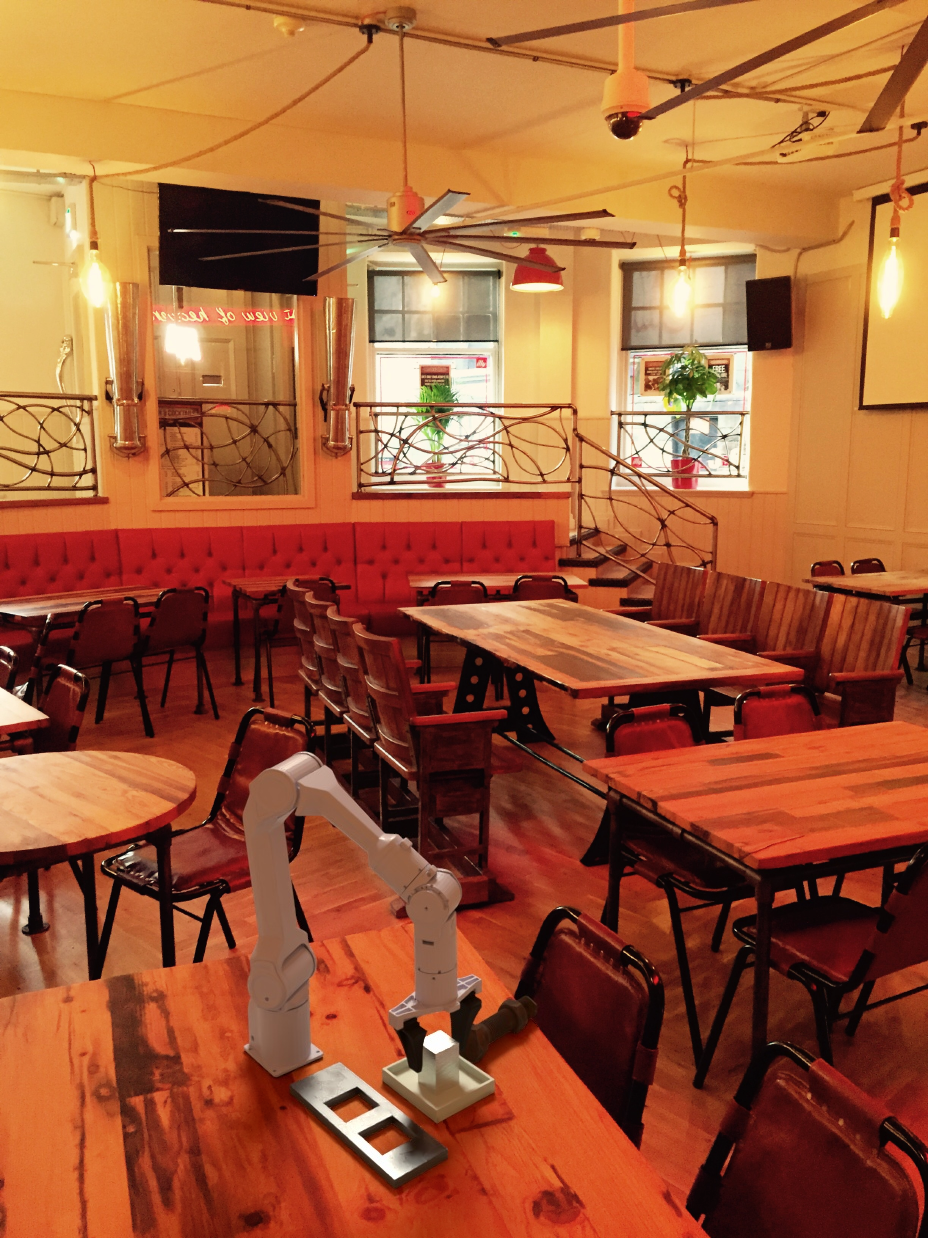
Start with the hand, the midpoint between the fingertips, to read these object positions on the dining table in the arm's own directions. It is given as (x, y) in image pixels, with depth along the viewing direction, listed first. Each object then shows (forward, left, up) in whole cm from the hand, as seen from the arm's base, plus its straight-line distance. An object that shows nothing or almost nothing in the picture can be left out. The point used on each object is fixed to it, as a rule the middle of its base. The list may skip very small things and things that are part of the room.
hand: (437, 1058), depth 132 cm
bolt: (-3, +14, -5) cm, 15 cm away
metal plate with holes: (0, -12, -4) cm, 13 cm away
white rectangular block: (0, 0, -3) cm, 4 cm away
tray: (0, 0, -4) cm, 4 cm away
